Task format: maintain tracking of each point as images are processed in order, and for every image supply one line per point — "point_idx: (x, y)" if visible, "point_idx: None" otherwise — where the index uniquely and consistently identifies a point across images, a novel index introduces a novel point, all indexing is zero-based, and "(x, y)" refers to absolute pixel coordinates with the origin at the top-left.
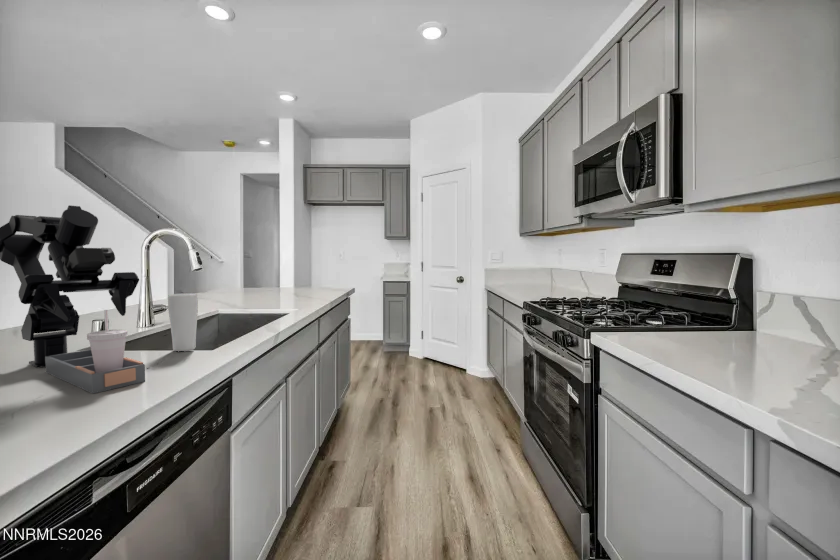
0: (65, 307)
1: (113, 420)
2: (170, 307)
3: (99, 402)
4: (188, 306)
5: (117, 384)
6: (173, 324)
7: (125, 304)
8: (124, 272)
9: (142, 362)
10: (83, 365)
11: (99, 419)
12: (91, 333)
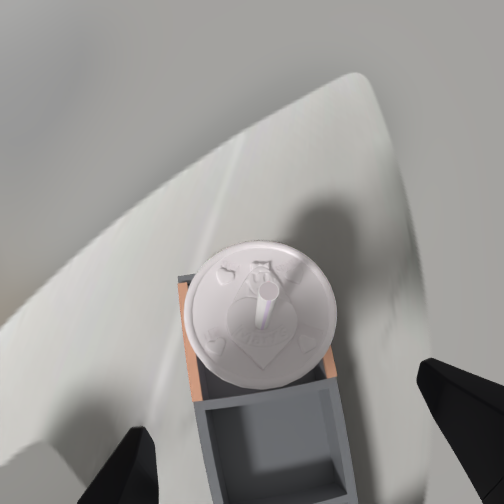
0: (473, 392)
1: (288, 119)
2: None
3: (296, 205)
4: None
5: None
6: None
7: (103, 469)
8: None
9: (179, 283)
10: (292, 499)
11: (303, 132)
12: (319, 338)
